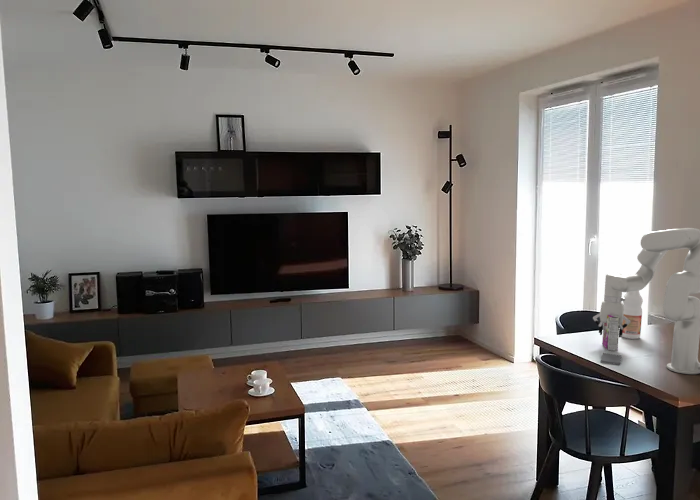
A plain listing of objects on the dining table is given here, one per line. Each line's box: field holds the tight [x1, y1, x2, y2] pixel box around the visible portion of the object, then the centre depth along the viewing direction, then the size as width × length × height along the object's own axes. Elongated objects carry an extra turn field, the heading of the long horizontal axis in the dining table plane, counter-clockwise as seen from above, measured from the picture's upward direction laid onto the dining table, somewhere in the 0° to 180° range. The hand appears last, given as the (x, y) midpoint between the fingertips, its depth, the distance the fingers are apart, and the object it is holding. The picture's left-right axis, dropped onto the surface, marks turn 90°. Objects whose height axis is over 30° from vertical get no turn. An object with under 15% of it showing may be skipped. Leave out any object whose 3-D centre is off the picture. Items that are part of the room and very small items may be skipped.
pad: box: [600, 352, 623, 366], centre depth 259 cm, size 8×13×1 cm, turn 153°
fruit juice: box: [621, 290, 644, 340], centre depth 297 cm, size 9×9×28 cm
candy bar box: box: [601, 315, 620, 352], centre depth 278 cm, size 11×5×16 cm, turn 168°
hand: (610, 335), depth 278 cm, fingers open, 7 cm apart
